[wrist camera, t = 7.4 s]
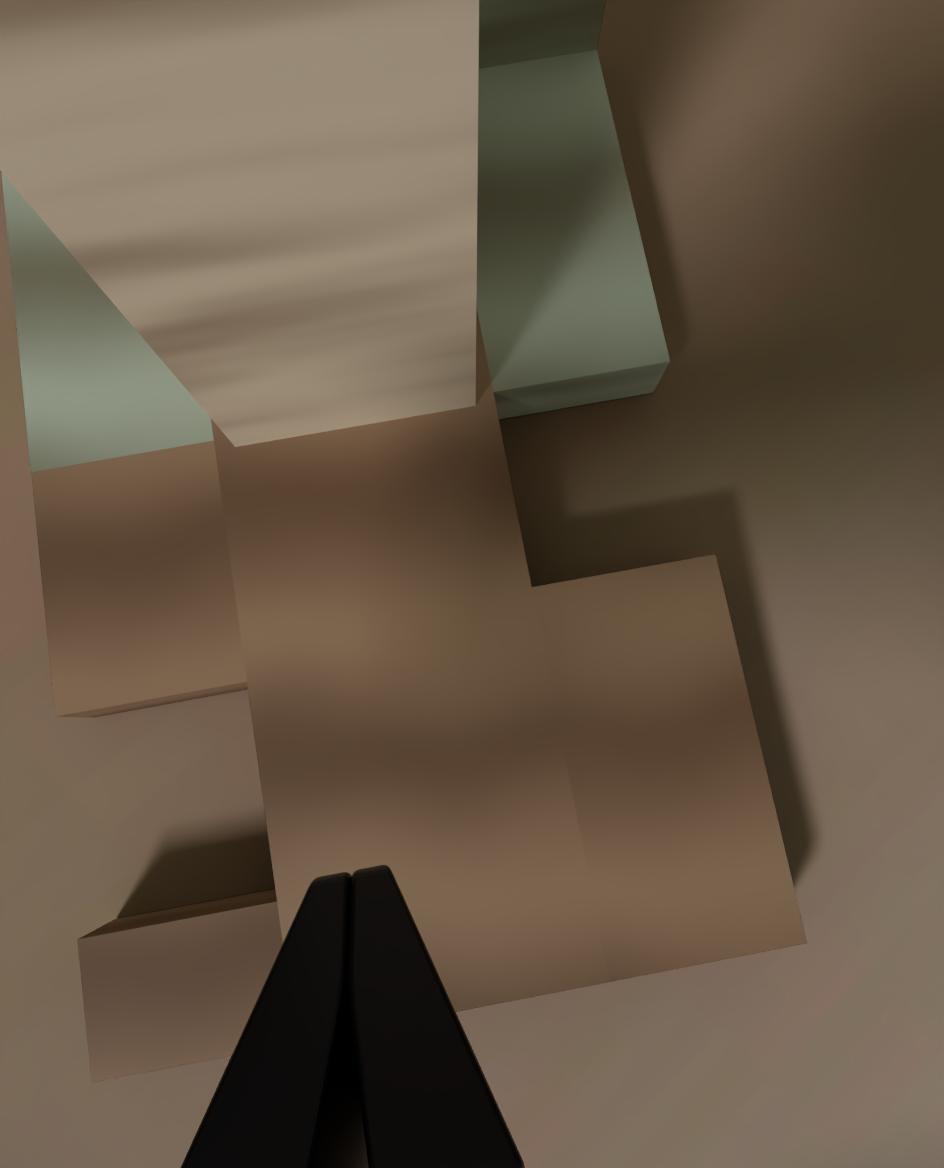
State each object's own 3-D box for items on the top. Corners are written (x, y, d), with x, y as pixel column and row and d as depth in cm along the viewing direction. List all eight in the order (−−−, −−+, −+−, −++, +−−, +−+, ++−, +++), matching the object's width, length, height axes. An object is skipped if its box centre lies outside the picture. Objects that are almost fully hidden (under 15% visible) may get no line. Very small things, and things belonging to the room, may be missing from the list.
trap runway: (775, 922, 21) (869, 983, 16) (128, 1048, 20) (18, 1150, 15) (576, 59, 25) (602, -106, 20) (32, 147, 24) (-79, 0, 19)
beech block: (475, 405, 21) (481, -368, 6) (235, 446, 21) (-354, -246, 6) (421, 122, 22) (319, -1082, 7) (194, 158, 22) (-370, -999, 7)
